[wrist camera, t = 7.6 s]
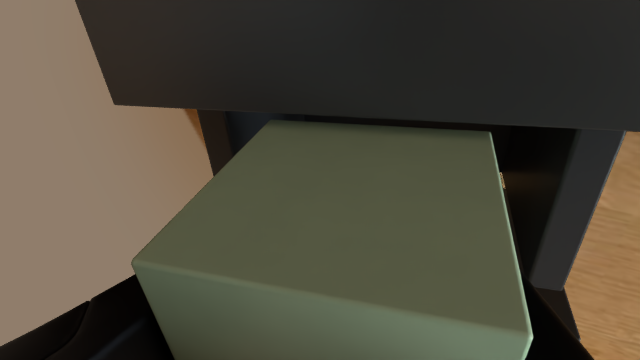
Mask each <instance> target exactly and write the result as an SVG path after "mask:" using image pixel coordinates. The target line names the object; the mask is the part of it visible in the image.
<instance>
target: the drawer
mask: <svg viewBox="0 0 640 360" xmlns="http://www.w3.org/2000/svg"><path fill="white" fill-rule="evenodd" d="M197 113H198V117H199V121H200V124H201V128H202V132H203V136H204V140H205V144H206V148H207V152H208V156H209V160H210V164H211V168H212V171H213V176H215V175H216V174H217V173H218V172H219V171H220V170H221V169H222V168H223V167H224V166H225V165H226V164H227V163H228V162H229V161H230V160H231V159H232V158H233V157H234V156H235V155H236V154H237V153H238V152H239V151H240V150H241V149H242V148H243V147H244V146H245V145H246V144H247V143H248V142H249V141H250V140H251V139H252V138H253V137H254V136H255V135H256V134H257V133H258V132H259V131H260V130H261V129H262V128H263V127H264V126H265V125H266V124H267V123H268V122H269V121H270V120H287V121H305V122H324V123H342V124H360V125H378V126H396V127H415V128H433V129H451V130H469V131H487V132H490V133H491V135H492V140H493V145H494V150H495V155H496V159H497V164H498V169H499V172H502V174H503V178H504V183H505V188H506V189H505V188H503V193H504V198H505V203H506V208H507V212H508V217H509V222H510V227H511V232H512V236H513V241H514V246H515V251H516V256H517V260H518V265H519V269H520V270H521V271H522V272H523V274H524V275H525V276H526V277H527V278H528V280H529V281H530V282H531V283H532V285H533V286H534V287H535V288H536V289H537V291H538V292H539V293H540V294H541V295H542V297H543V298H544V299H545V300H546V302H547V303H548V304H549V305H550V306H551V308H552V309H553V310H554V311H555V312H556V314H557V315H558V316H559V317H560V319H561V320H562V321H563V322H564V323H565V325H566V326H567V327H568V328H569V329H570V331H571V332H572V333H573V334H574V336H575V337H576V338H577V339H578V340H579V342H580V340H581V339H580V335H579V332H578V329H577V326H576V323H575V320H574V317H573V314H572V311H571V308H570V305H569V301H568V298H567V295H566V292H565V289H564V285H565V282H566V280H567V277H568V275H569V272H570V270H571V268H572V265H573V263H574V260H575V258H576V255H577V253H578V250H579V248H580V245H581V243H582V240H583V238H584V235H585V233H586V230H587V228H588V225H589V223H590V220H591V218H592V216H593V213H594V211H595V208H596V206H597V203H598V201H599V198H600V196H601V193H602V191H603V188H604V186H605V183H606V181H607V178H608V176H609V173H610V171H611V168H612V166H613V164H614V161H615V159H616V156H617V154H618V151H619V149H620V146H621V144H622V141H623V139H624V136H625V134H626V131H614V130H594V129H574V128H555V127H535V126H516V125H496V124H477V123H457V122H438V121H418V120H398V119H379V118H359V117H340V116H320V115H301V114H281V113H262V112H242V111H222V110H203V109H197Z"/></svg>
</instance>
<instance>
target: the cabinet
mask: <svg viewBox="0 0 640 360" xmlns="http://www.w3.org/2000/svg"><path fill="white" fill-rule="evenodd" d="M75 2H76V4H77V7H78V9H79V12H80V15H81V17H82V20H83V23H84V26H85V28H86V31H87V33H88V36H89V39H90V42H91V44H92V47H93V50H94V52H95V55H96V57H97V60H98V62H99V65H100V68H101V71H102V73H103V76H104V79H105V81H106V84H107V87H108V89H109V92H110V94H111V97H112V100H113V103H114V104H115V105H125V106H145V107H164V108H183V109H203V110H222V111H242V112H262V113H281V114H301V115H320V116H340V117H359V118H379V119H398V120H418V121H438V122H457V123H477V124H496V125H516V126H535V127H555V128H574V129H594V130H614V131H633V132H640V0H75Z"/></svg>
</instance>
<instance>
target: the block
mask: <svg viewBox="0 0 640 360" xmlns="http://www.w3.org/2000/svg"><path fill="white" fill-rule="evenodd" d="M131 265H132V267H133V269H134V272H135V274H136V276H137V278H138V280H139V283H140V285H141V287H142V289H143V291H144V293H145V296H146V298H147V300H148V302H149V304H150V307H151V309H152V311H153V313H154V315H155V318H156V320H157V322H158V324H159V326H160V328H161V331H162V333H163V335H164V337H165V339H166V342H167V344H168V346H169V348H170V350H171V353H172V355H173V357H174V359H175V360H525V358H526V356H527V353H528V350H529V348H530V345H531V342H532V340H533V333H532V328H531V323H530V318H529V313H528V309H527V304H526V299H525V294H524V289H523V285H522V280H521V275H520V270H519V265H518V260H517V256H516V251H515V246H514V241H513V236H512V232H511V227H510V222H509V217H508V212H507V208H506V203H505V198H504V193H503V188H502V184H501V179H500V174H499V169H498V164H497V159H496V155H495V150H494V145H493V140H492V135H491V133H490V132H487V131H469V130H451V129H433V128H415V127H396V126H378V125H360V124H342V123H324V122H305V121H287V120H270V121H269V122H268V123H267V124H266V125H265V126H264V127H263V128H262V129H261V130H260V131H259V132H258V133H257V134H256V135H255V136H254V137H253V138H252V139H251V140H250V141H249V142H248V143H247V144H246V145H245V146H244V147H243V148H242V149H241V150H240V151H239V152H238V153H237V154H236V155H235V156H234V157H233V158H232V159H231V160H230V161H229V162H228V163H227V164H226V165H225V166H224V167H223V168H222V169H221V170H220V171H219V172H218V173H217V174H216V175H215V176H214V177H213V178H212V179H211V180H210V181H209V182H208V183H207V184H206V185H205V187H203V188H202V189H201V190H200V191H199V192H198V193H197V195H195V197H194V198H193V199H192V200H191V201H190V202H189V203H188V204H187V205H186V206H185V207H184V208H183V209H182V210H181V211H180V212H179V213H178V214H177V215H176V216H175V217H174V218H173V219H172V220H171V221H170V222H169V223H168V224H167V225H166V226H165V227H164V228H163V229H162V230H161V231H160V232H159V233H158V234H157V235H156V236H155V237H154V238H153V239H152V240H151V241H150V242H149V243H148V244H147V245H146V246H145V247H144V248H143V249H142V250H141V251H140V252H139V253H138V254H137V255H136V256H135V257H134V258H133V260H132V262H131Z"/></svg>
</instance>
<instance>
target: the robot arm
mask: <svg viewBox="0 0 640 360" xmlns="http://www.w3.org/2000/svg"><path fill="white" fill-rule="evenodd" d="M519 270H520V269H519ZM520 275H521V280H522V285H523V289H524V294H525V299H526V304H527V309H528V313H529V318H530V323H531V328H532V333H533V340H532V342H531V345H530V348H529V350H528V353H527V356H526V358H525V360H594V359H593V357H592V356H591V355H590V354H589V353H588V351H587V350H586V349H585V348H584V347H583V345H582V344H581V343H580V342H579V340H578V339H577V338H576V337H575V336H574V334H573V333H572V332H571V331H570V329H569V328H568V327H567V326H566V325H565V323H564V322H563V321H562V320H561V319H560V317H559V316H558V315H557V314H556V312H555V311H554V310H553V309H552V308H551V306H550V305H549V304H548V303H547V302H546V300H545V299H544V298H543V297H542V295H541V294H540V293H539V292H538V291H537V289H536V288H535V287H534V286H533V285H532V283H531V282H530V281H529V280H528V278H527V277H526V276H525V275H524V274H523V272H522V271H521V270H520ZM0 360H175V359H174V357H173V355H172V353H171V350H170V348H169V346H168V344H167V342H166V339H165V337H164V335H163V333H162V331H161V328H160V326H159V324H158V322H157V320H156V318H155V315H154V313H153V311H152V309H151V307H150V304H149V302H148V300H147V298H146V296H145V293H144V291H143V289H142V287H141V285H140V283H139V280H138V278H137V276H136V274H135V275H133V276H131V277H129V278H128V279H126V280H124V281H122V282H120V283H119V284H117V285H115V286H113V287H111V288H110V289H108V290H106V291H104V292H102V293H101V294H99V295H97V296H95V297H93V298H92V299H91V301H86V302H84V303H82V304H81V305H79V306H77V307H75V308H73V309H72V310H70V311H68V312H66V313H64V314H62V315H60V316H59V317H57V318H55V319H53V320H51V321H49V322H47V323H46V324H44V325H42V326H40V327H38V328H36V329H34V330H33V331H30V332H28V333H26V334H25V335H22V336H20V337H19V338H16V339H14V340H13V341H10V342H8V343H6V344H4V345H2V346H0Z"/></svg>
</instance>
